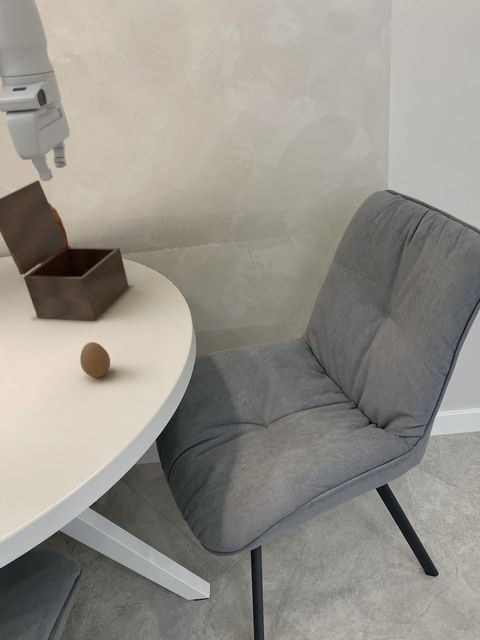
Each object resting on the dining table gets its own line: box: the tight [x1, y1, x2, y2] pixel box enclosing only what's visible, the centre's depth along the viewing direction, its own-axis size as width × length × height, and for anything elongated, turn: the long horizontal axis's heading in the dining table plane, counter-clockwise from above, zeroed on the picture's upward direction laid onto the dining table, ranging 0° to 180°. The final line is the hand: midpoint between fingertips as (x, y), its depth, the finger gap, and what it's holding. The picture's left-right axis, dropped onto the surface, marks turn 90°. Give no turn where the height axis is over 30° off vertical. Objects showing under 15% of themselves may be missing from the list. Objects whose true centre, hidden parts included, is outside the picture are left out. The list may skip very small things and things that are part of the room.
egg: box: [79, 341, 111, 378], centre depth 86 cm, size 4×4×6 cm
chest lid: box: [0, 180, 66, 276], centre depth 104 cm, size 14×15×1 cm
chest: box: [23, 246, 130, 322], centre depth 109 cm, size 13×15×9 cm
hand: (54, 173), depth 102 cm, fingers open, 8 cm apart
